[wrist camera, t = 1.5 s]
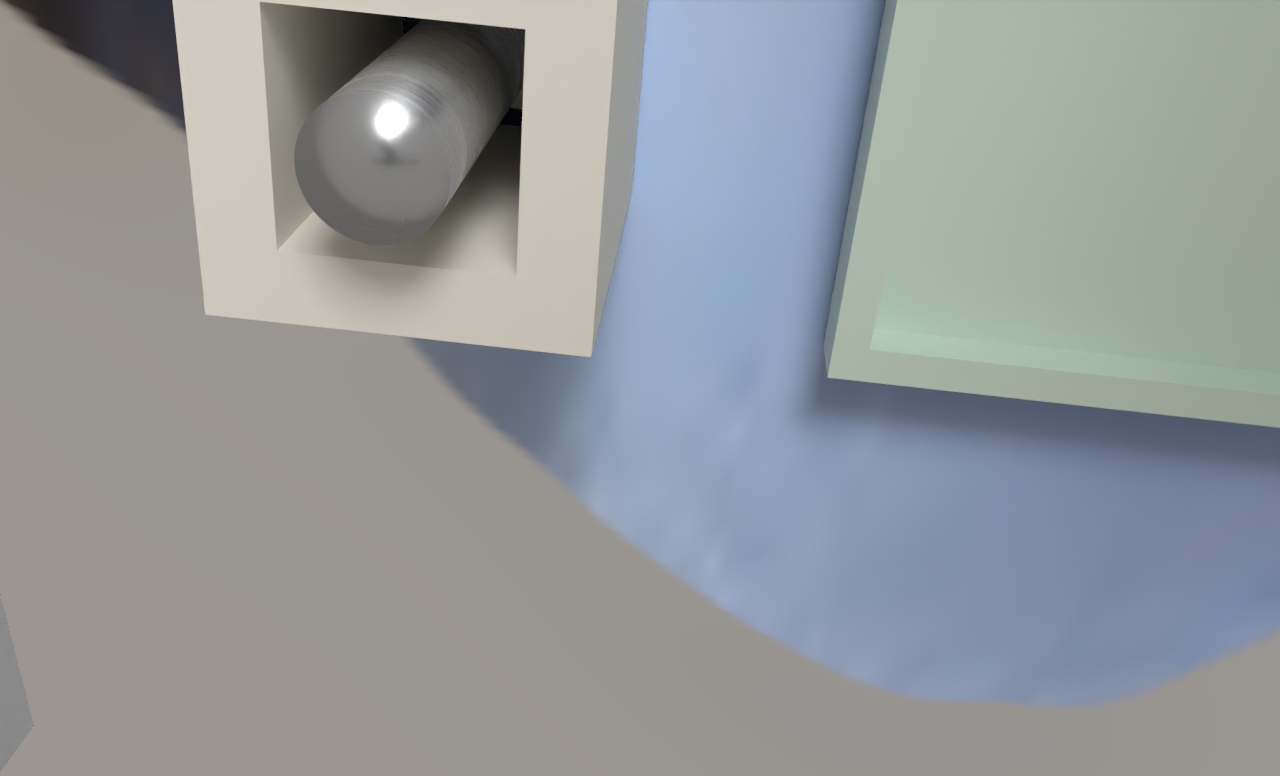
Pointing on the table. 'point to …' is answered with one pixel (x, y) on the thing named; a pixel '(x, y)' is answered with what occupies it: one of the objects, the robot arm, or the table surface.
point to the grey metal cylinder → (408, 129)
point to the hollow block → (479, 209)
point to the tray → (1069, 206)
